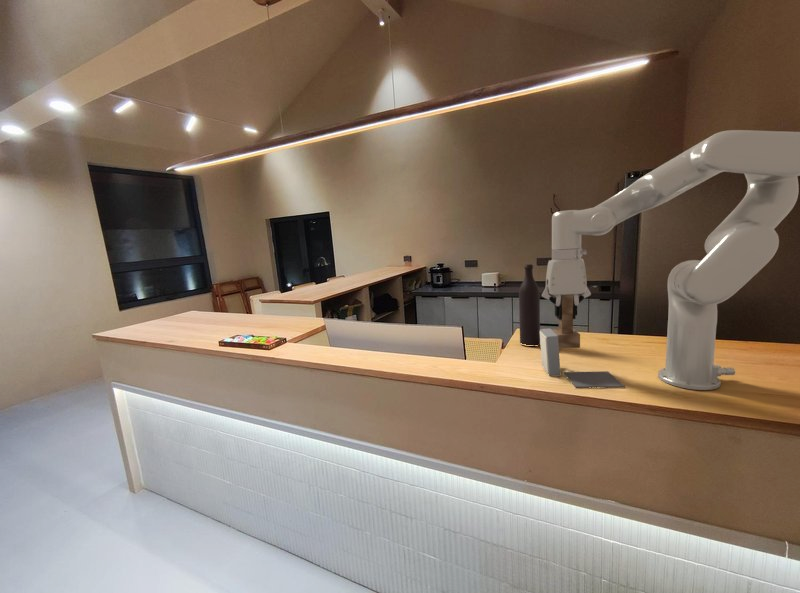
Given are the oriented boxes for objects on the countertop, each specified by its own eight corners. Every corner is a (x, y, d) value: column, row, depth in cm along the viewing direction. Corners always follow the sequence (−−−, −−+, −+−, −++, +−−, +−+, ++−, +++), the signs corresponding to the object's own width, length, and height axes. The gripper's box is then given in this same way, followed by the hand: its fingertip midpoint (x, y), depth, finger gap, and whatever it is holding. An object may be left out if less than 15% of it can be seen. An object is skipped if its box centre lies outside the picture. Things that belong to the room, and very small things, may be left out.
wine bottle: (543, 343, 129) (542, 263, 124) (535, 348, 124) (534, 265, 119) (524, 340, 134) (523, 263, 129) (516, 345, 129) (515, 265, 124)
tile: (552, 365, 107) (550, 328, 105) (560, 375, 99) (558, 335, 97) (541, 366, 108) (539, 329, 106) (548, 376, 100) (545, 336, 98)
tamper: (572, 341, 104) (573, 289, 101) (579, 347, 98) (580, 292, 95) (551, 341, 105) (552, 290, 102) (557, 348, 99) (558, 293, 96)
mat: (608, 372, 99) (608, 371, 99) (624, 387, 89) (624, 386, 89) (563, 373, 101) (563, 371, 101) (575, 388, 91) (575, 386, 91)
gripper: (592, 252, 99) (590, 314, 102) (533, 256, 102) (533, 316, 105) (603, 254, 92) (601, 320, 95) (539, 257, 95) (539, 322, 98)
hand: (565, 317), depth 100 cm, fingers closed on tamper, 3 cm apart
